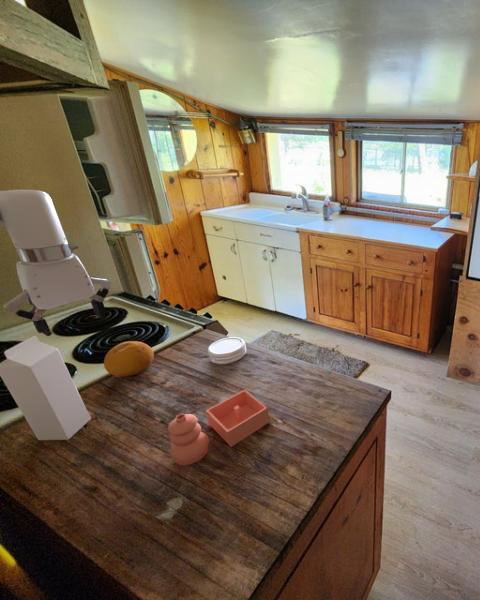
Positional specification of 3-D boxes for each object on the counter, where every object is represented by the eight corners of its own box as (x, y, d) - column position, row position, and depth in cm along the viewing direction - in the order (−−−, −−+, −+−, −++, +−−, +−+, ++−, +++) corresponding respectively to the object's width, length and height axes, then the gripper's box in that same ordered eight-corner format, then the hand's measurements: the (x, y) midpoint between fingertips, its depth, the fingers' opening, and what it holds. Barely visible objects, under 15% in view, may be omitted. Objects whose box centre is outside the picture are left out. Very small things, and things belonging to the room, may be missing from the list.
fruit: (99, 375, 86) (89, 350, 83) (142, 355, 95) (133, 332, 92) (123, 387, 83) (113, 361, 79) (165, 365, 92) (157, 341, 88)
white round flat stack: (253, 353, 99) (252, 343, 97) (222, 369, 91) (220, 359, 89) (234, 342, 103) (232, 333, 102) (202, 357, 96) (200, 347, 94)
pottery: (247, 402, 80) (241, 370, 75) (269, 421, 75) (264, 388, 70) (164, 450, 66) (151, 414, 62) (184, 477, 61) (171, 439, 57)
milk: (91, 419, 73) (52, 334, 64) (68, 440, 68) (22, 352, 58) (62, 419, 73) (19, 334, 64) (36, 440, 67) (-15, 351, 58)
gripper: (88, 241, 76) (111, 307, 83) (-25, 259, 62) (14, 336, 69) (105, 247, 73) (127, 314, 80) (-10, 267, 59) (29, 347, 66)
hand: (75, 324), depth 74 cm, fingers open, 9 cm apart
